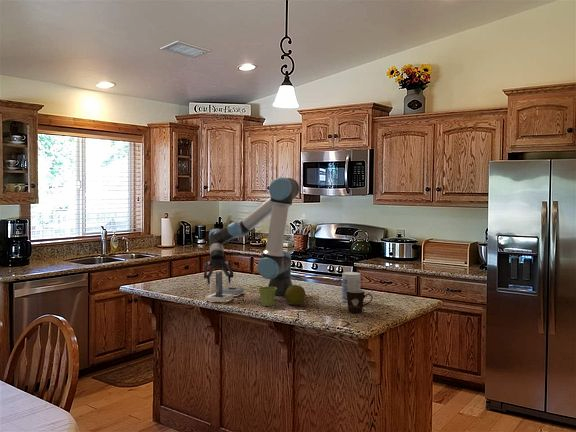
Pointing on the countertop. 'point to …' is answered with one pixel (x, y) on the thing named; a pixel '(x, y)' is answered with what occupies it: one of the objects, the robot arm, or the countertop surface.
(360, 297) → the coffee mug
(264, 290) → the plant pot
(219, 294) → the rod
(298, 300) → the apple
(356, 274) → the supplement tub
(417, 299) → the countertop surface
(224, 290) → the socket block
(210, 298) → the block
